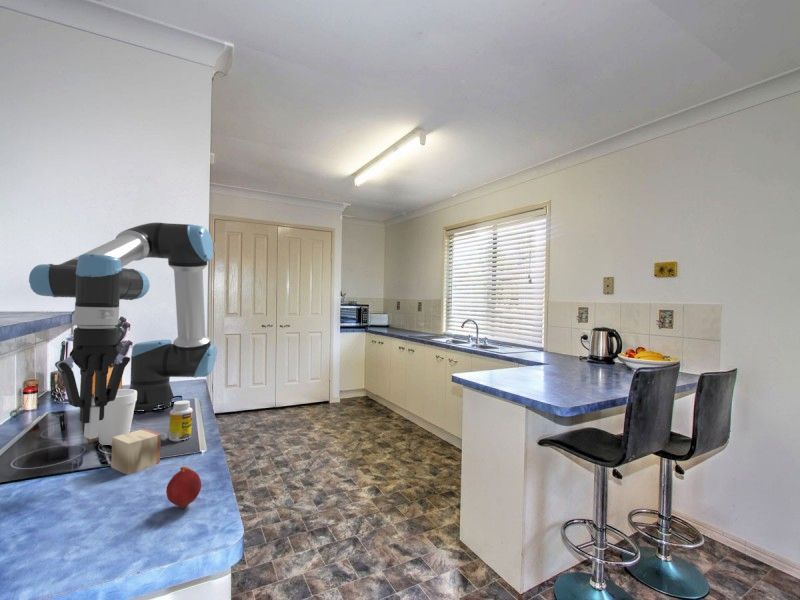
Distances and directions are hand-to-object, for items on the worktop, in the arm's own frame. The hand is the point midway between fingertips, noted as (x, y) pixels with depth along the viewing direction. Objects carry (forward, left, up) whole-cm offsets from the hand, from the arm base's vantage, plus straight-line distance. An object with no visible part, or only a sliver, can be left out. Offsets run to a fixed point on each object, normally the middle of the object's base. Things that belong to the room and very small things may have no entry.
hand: (91, 436), depth 82 cm
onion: (-5, +26, -10) cm, 28 cm away
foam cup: (-13, -20, -10) cm, 26 cm away
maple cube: (-6, 0, -6) cm, 8 cm away
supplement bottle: (-24, -9, -10) cm, 28 cm away
